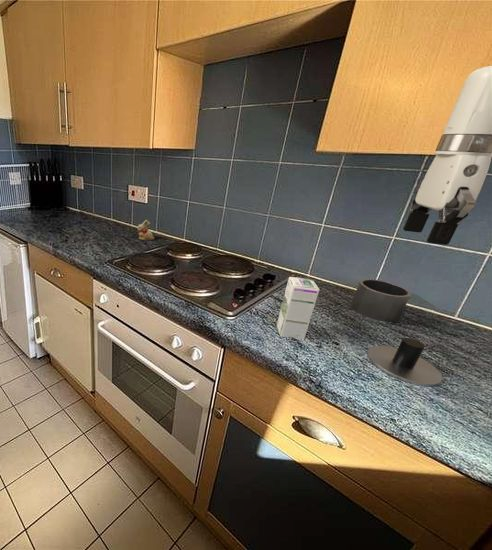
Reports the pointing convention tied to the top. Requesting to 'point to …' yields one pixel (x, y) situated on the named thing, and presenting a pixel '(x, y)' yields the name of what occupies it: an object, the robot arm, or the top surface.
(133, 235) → the top surface
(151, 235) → the chocolate bunny
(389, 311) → the canister
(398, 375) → the canister lid
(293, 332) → the syrup box
